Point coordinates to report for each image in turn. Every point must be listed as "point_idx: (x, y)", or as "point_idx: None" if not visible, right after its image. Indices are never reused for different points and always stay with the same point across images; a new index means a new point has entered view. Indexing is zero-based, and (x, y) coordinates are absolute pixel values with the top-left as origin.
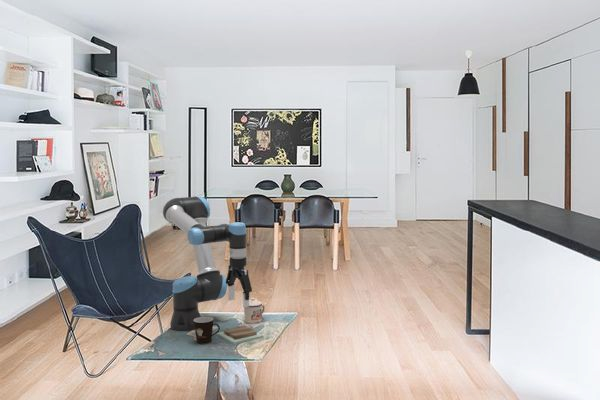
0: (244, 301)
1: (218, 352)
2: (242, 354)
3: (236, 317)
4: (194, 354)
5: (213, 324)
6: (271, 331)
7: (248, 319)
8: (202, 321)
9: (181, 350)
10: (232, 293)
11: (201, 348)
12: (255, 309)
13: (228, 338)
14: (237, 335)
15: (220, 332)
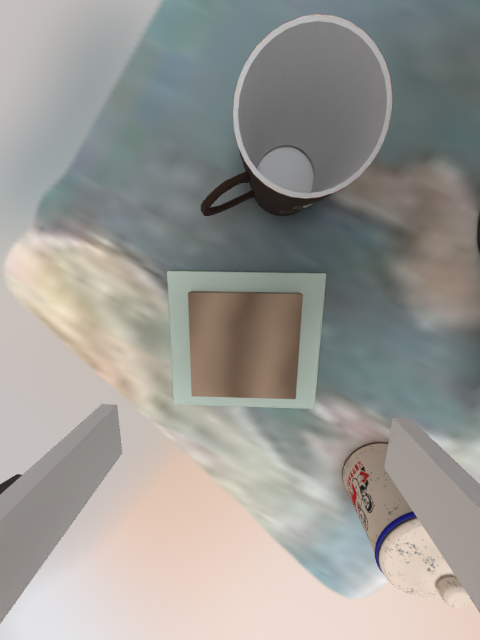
0: (56, 451)
1: (116, 166)
2: (44, 238)
3: (472, 450)
4: (151, 52)
5: (234, 178)
6: (221, 454)
7: (373, 457)
8: (358, 152)
9: (241, 17)
10: (438, 515)
11: (207, 123)
12: (372, 522)
13: (225, 276)
14: (191, 306)
15: (323, 288)
